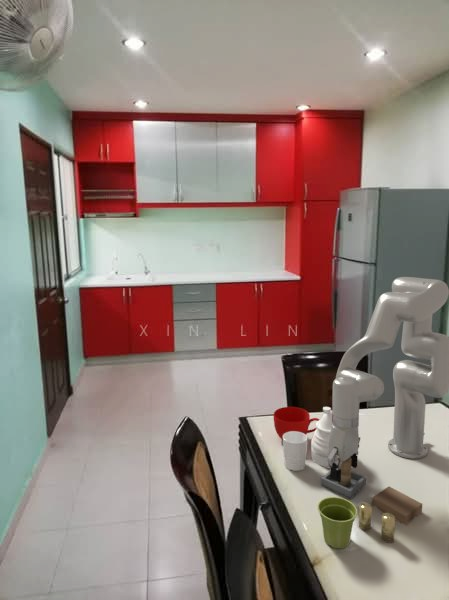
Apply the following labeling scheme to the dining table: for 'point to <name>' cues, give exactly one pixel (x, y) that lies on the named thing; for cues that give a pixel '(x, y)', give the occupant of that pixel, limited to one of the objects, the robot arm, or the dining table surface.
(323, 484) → the tray
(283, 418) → the ceramic cup
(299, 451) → the white cup
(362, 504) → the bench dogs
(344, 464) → the dowel
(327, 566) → the dining table surface
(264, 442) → the dining table surface
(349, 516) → the plant pot
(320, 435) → the honey pot
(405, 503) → the brown wooden brick
